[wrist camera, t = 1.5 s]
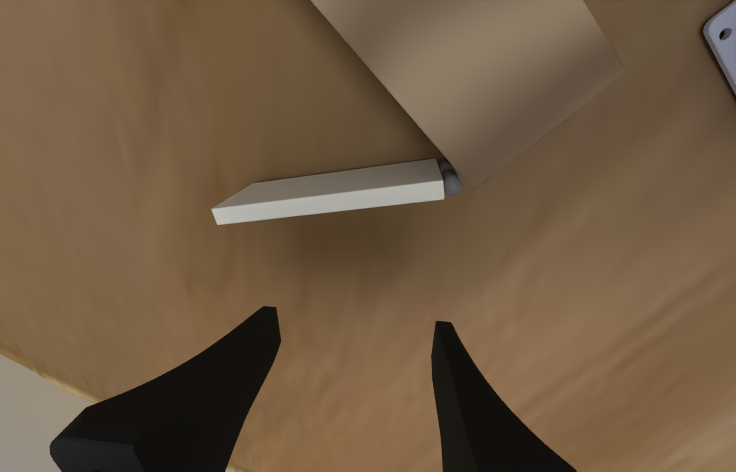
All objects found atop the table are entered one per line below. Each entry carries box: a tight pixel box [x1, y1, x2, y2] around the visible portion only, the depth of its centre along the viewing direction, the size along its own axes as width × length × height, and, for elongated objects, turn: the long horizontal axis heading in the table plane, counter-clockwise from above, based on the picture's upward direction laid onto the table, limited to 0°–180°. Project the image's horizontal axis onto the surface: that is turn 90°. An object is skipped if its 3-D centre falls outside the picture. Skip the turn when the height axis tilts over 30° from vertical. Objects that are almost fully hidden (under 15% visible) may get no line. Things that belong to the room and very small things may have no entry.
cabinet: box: [311, 0, 627, 190], centre depth 15 cm, size 15×7×6 cm, turn 44°
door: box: [212, 158, 462, 225], centre depth 19 cm, size 14×2×5 cm, turn 99°
